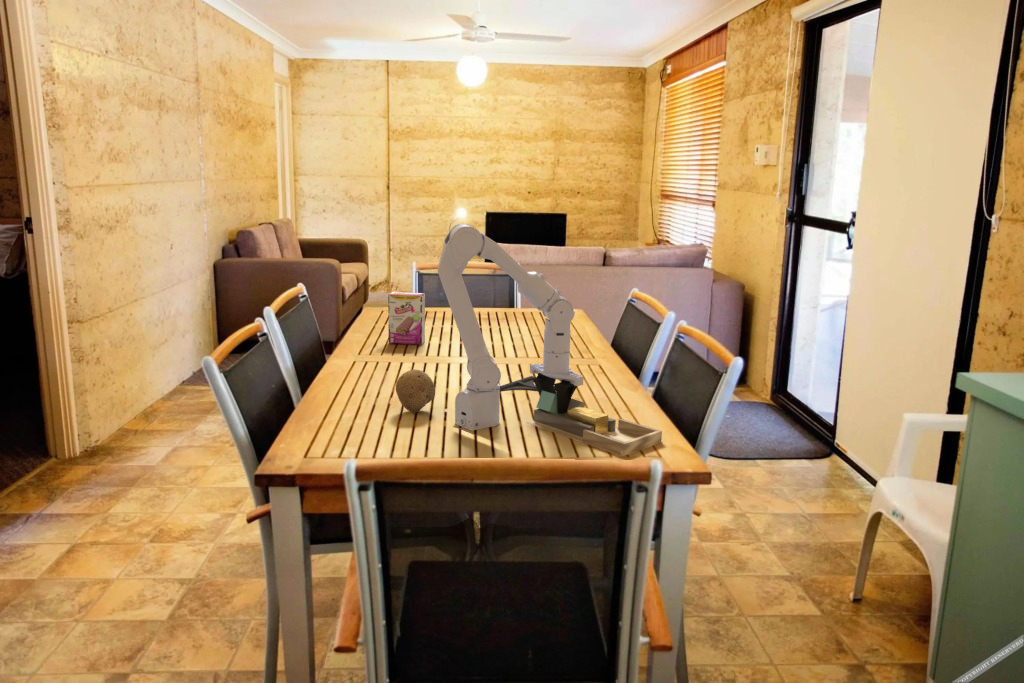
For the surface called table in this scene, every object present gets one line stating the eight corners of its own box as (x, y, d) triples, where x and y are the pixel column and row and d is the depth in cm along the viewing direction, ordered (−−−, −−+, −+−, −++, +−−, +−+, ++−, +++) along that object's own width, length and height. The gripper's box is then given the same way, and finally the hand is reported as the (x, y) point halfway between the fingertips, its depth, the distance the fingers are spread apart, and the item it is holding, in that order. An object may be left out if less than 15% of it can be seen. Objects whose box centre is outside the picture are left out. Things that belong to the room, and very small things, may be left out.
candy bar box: (388, 344, 249) (387, 293, 246) (392, 341, 254) (391, 291, 251) (422, 345, 248) (421, 294, 245) (425, 342, 253) (425, 292, 250)
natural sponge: (416, 403, 186) (416, 363, 184) (443, 411, 180) (443, 369, 178) (388, 411, 179) (387, 370, 177) (415, 420, 173) (414, 376, 171)
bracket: (543, 403, 190) (543, 392, 190) (496, 392, 199) (496, 381, 198) (575, 391, 201) (576, 381, 201) (529, 381, 210) (530, 371, 210)
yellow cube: (595, 436, 161) (595, 418, 160) (580, 432, 164) (581, 414, 163) (607, 433, 164) (608, 414, 163) (593, 428, 167) (594, 410, 166)
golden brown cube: (581, 432, 164) (581, 414, 163) (567, 427, 167) (568, 409, 166) (593, 428, 167) (594, 410, 166) (580, 423, 170) (580, 406, 169)
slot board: (622, 461, 151) (622, 444, 150) (526, 426, 170) (526, 411, 169) (662, 446, 159) (663, 430, 159) (567, 415, 179) (567, 400, 178)
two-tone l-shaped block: (578, 423, 169) (561, 417, 165) (552, 415, 175) (535, 409, 171) (585, 403, 170) (569, 396, 166) (559, 395, 175) (542, 388, 171)
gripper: (593, 354, 167) (591, 414, 169) (545, 342, 177) (544, 399, 180) (571, 358, 162) (569, 420, 165) (523, 346, 172) (522, 405, 175)
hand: (554, 410), depth 172 cm, fingers closed on two-tone l-shaped block, 4 cm apart
